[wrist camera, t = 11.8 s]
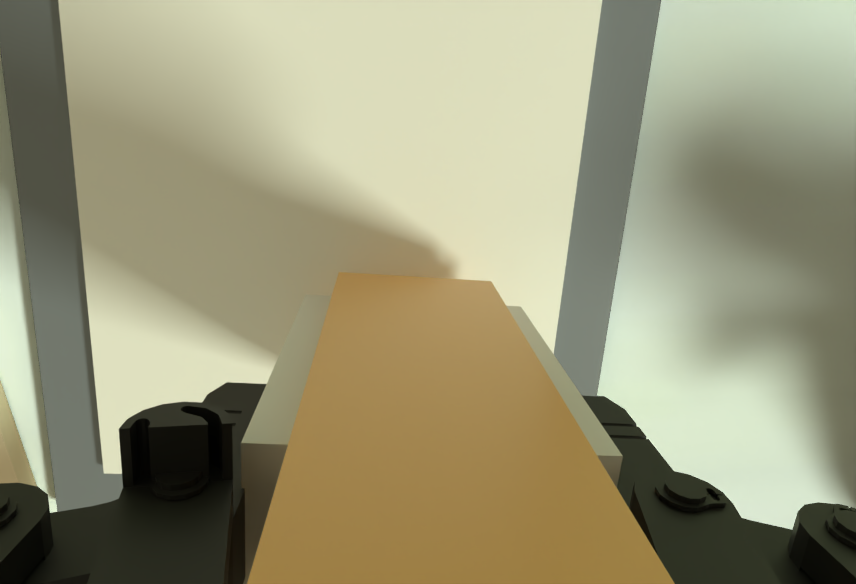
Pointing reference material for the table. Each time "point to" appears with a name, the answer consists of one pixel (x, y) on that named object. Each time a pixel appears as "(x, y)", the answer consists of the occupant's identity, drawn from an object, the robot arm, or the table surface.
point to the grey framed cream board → (303, 181)
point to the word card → (12, 448)
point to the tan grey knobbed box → (440, 454)
